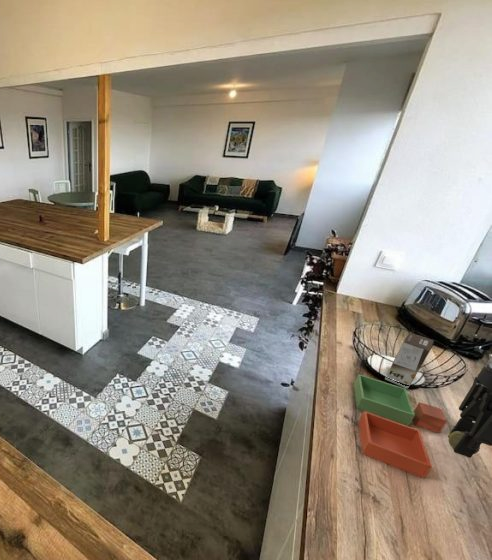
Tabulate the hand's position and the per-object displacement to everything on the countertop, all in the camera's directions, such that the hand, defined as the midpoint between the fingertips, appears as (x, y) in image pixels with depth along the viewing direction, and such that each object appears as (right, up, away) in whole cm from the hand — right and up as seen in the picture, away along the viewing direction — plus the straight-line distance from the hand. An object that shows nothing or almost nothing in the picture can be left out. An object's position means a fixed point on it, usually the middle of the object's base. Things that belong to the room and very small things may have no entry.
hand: (458, 446), depth 76 cm
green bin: (+1, +2, +22) cm, 23 cm away
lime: (0, -1, 0) cm, 1 cm away
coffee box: (+17, +6, +33) cm, 37 cm away
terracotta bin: (-9, -5, +9) cm, 14 cm away
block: (+8, -2, +16) cm, 18 cm away
